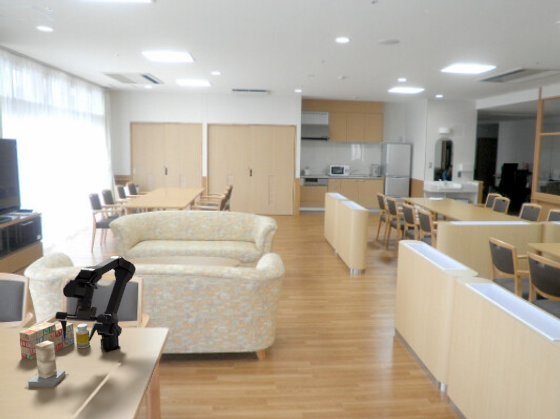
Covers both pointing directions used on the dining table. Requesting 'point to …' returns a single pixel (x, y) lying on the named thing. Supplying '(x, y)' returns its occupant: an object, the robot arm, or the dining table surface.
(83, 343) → the supplement bottle
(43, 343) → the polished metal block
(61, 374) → the slate slab
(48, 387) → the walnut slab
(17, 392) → the dining table surface
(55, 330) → the stack of blocks
